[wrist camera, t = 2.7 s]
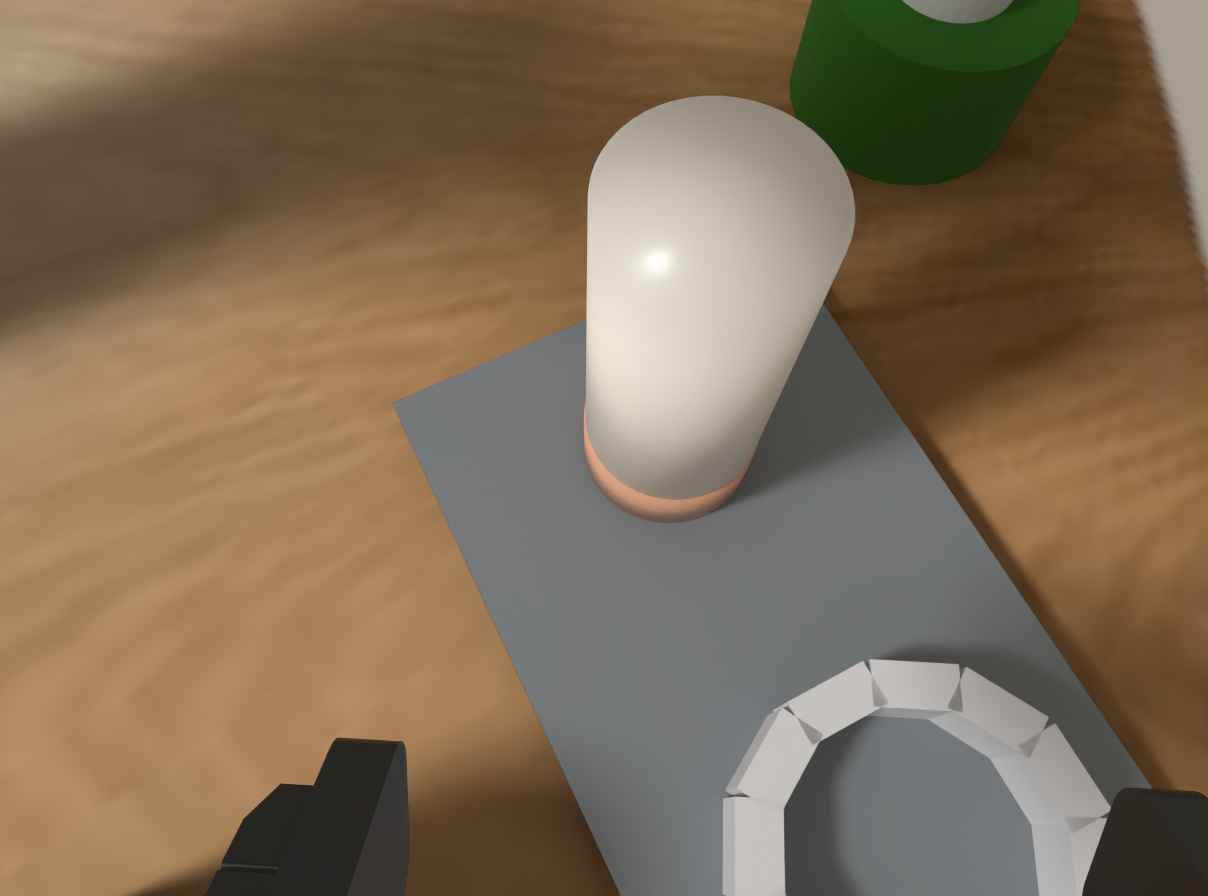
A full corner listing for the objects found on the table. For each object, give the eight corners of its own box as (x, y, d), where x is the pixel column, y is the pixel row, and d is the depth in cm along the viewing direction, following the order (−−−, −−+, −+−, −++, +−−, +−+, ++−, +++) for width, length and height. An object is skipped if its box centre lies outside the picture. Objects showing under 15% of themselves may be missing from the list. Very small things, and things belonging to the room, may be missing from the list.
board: (398, 415, 30) (378, 374, 27) (771, 253, 32) (790, 200, 29) (784, 1248, 22) (813, 1310, 19) (1235, 944, 24) (1319, 960, 22)
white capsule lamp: (555, 409, 29) (539, 149, 18) (698, 345, 30) (769, 59, 18) (631, 551, 27) (666, 363, 16) (779, 478, 28) (911, 253, 17)
